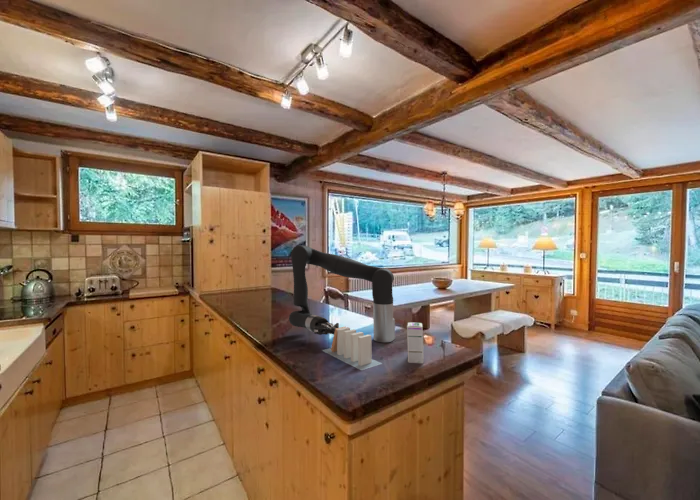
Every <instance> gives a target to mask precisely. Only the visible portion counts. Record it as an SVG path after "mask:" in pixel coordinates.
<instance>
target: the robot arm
mask: <svg viewBox="0 0 700 500" xmlns="http://www.w3.org/2000/svg"><path fill="white" fill-rule="evenodd" d="M290 255H291V256H290V257H291V264H292V274H293V275H292V276H293V296H292V297H293V301H292V302H293V303H292V304H293V306H295V307H300V308H301V309H300V310H294V311H291V312H290V314H289V315H288V321H289V323H290V324H291V326H293V327H298V328H305V329H306V330H308V331H310V332H311V333H314V334H315V335H320V336H321V335H334V332H335V329H336V328H340V327H339V326H340V324H339V322H336V323H334V324H333V323H331V322H329V320H328V319H327V318H326V317H322V316H320V315H315V314H312V313H311V312H310V308H309V302H308V301H309V300H308V298H309V295H308V294H309V289H308V283H307V282H308V281H307V279H306V265H312V266H316V267H320V268H322V269H323V270H326V271H327V272H329V273H332V274H334V275H337V276H341V277H344V278H351V279H359V280H364V281H367V282H371V288H372V289H371V291H372V292H371V293H372V299H373V301H372V302H373V303H372V305H373V309H372V311H373V314H372V315H373V341H375V342H378V343H390V342H393V341H394V340H395V339H396V319H395V318H394V297H393V282H394V279H395V278H394V274H393V271H391V270H390V269H389V268H385V267H379V266H374V265H368V264H366V263H363V262H360V261H358V260H355V259H351V258H349V257H346V256H342V255H337V254H334V253H327V252H323V251H320V250H317V249H314V248H313V247H310V246H307V245H302V244H301V245H300V244H299V245H296V246H294V247H293V248H292V250H291V252H290Z"/></svg>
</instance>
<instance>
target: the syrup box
mask: <svg viewBox="0 0 700 500" xmlns="http://www.w3.org/2000/svg"><path fill="white" fill-rule="evenodd" d="M423 327H424V326H423V323H422V322H413V321H412V322H411V321H410V322H407V324H406V333H407V334H406V335H407V336H406V337H407V338H406V343H407V345H406V347H407V363H410V364H424V362H425V361H424V331H423Z"/></svg>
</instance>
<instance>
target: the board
mask: <svg viewBox="0 0 700 500" xmlns="http://www.w3.org/2000/svg"><path fill="white" fill-rule="evenodd" d="M321 351H322V352H324V353H325V354H328V355H329V356H332V357H333V358H335V359H338V360H340V361H341V362H343V363H345V364H347V365H349V366H352V367H353V368H356V369H357V370H360V371H364V370H367V369H371V368H374V367H377V366H380V365H383V363H382V362H380V361H378V360H375V359H373V358H372V363H369V364H365V365H362V366H360V365H358V361H355V362H352V361H351V357H350V358H347V359H346V358H344V354H342V355H338V354H337V351H336V352H332V351H331V347H329V348H326V349H321Z"/></svg>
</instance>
